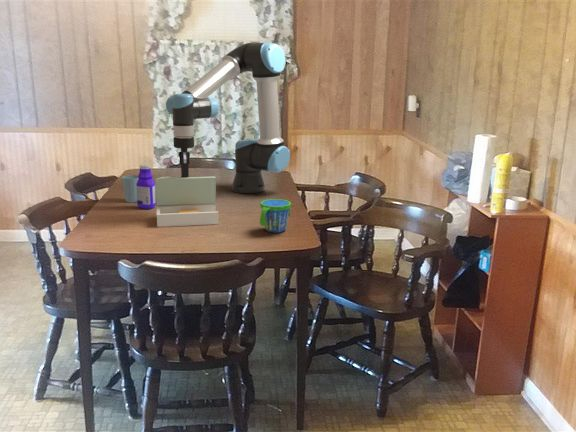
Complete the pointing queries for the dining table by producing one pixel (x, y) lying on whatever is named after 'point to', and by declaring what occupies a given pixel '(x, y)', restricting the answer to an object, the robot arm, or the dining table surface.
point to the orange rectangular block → (187, 211)
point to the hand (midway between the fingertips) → (185, 198)
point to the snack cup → (275, 214)
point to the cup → (130, 187)
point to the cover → (185, 191)
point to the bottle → (145, 188)
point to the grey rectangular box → (187, 215)
